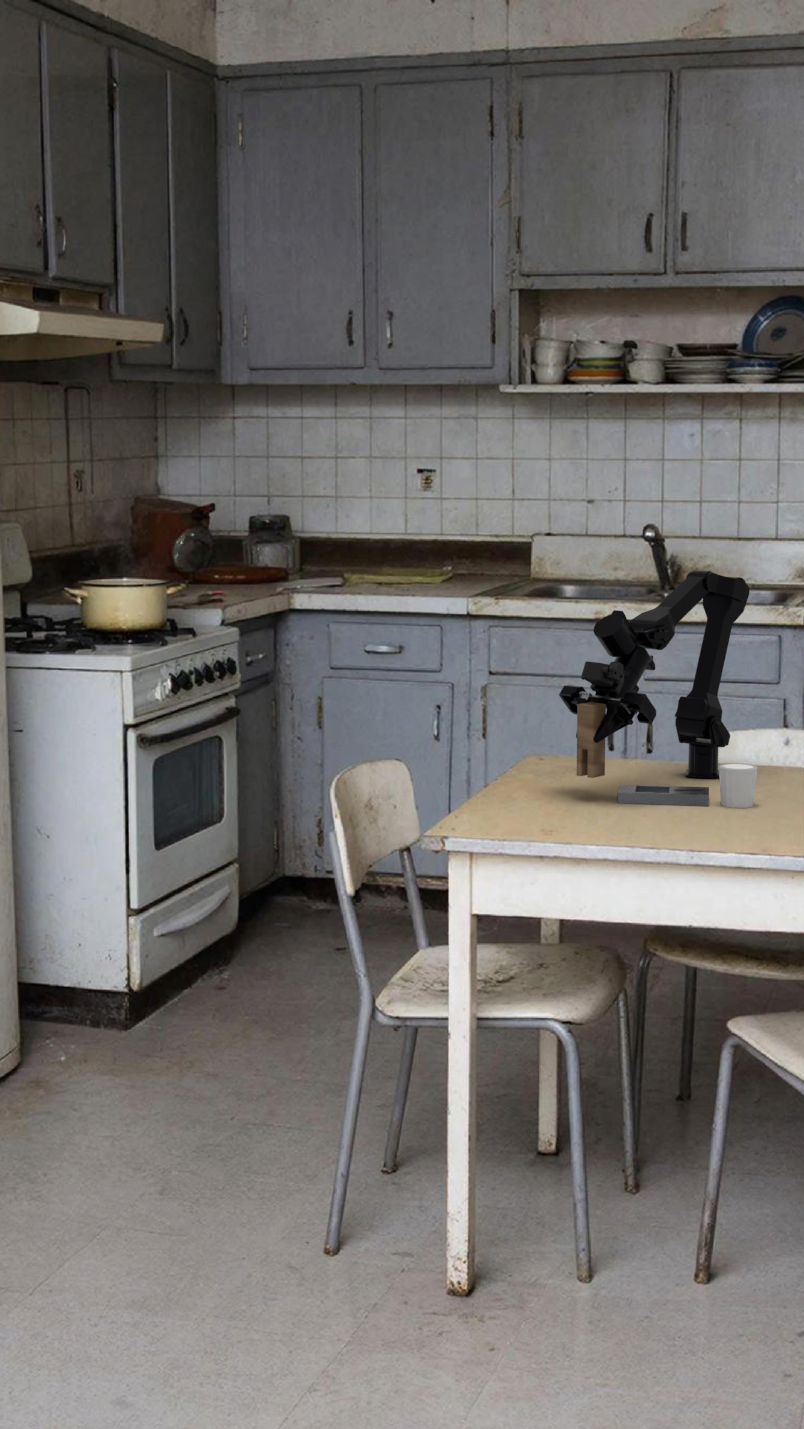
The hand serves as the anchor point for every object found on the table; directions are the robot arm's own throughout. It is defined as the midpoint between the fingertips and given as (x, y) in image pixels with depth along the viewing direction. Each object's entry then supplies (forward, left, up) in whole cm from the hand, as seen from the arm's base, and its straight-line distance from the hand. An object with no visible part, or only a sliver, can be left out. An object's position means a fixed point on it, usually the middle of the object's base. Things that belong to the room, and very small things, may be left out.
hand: (586, 740), depth 301 cm
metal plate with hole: (-3, +14, -11) cm, 18 cm away
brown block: (-1, +1, -7) cm, 7 cm away
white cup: (-1, +27, -11) cm, 29 cm away
